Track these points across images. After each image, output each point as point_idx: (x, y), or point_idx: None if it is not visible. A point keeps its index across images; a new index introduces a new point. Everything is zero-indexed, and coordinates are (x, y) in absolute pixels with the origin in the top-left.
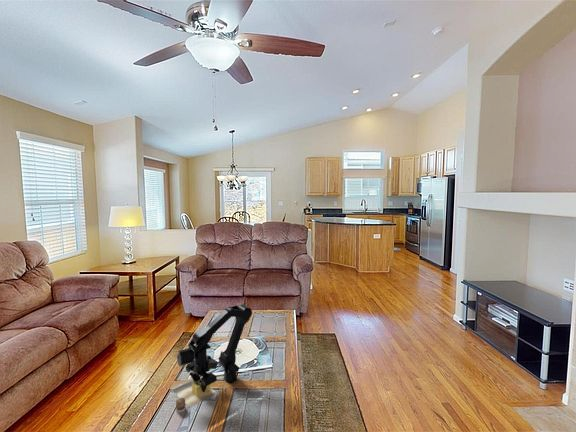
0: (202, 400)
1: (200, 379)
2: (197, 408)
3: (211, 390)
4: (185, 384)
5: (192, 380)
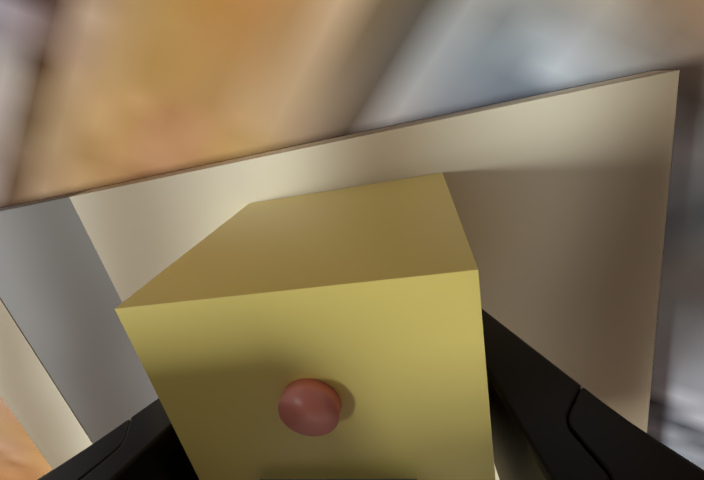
0: (646, 394)
1: (196, 451)
2: (686, 454)
3: (484, 151)
4: (96, 417)
5: (21, 321)
